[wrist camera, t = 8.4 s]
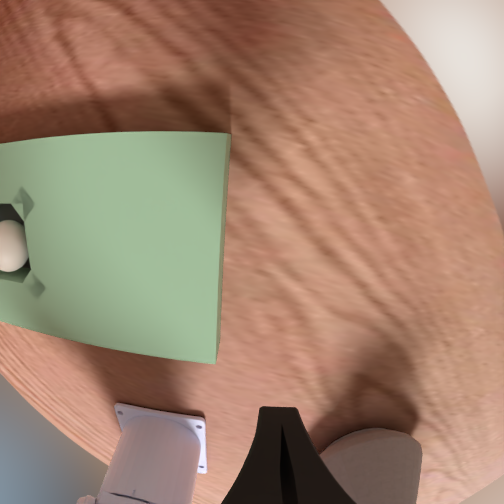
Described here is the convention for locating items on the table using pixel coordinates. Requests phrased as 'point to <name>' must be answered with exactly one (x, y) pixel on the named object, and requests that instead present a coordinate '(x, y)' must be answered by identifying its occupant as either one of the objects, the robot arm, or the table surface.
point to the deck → (119, 239)
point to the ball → (12, 246)
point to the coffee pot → (376, 466)
